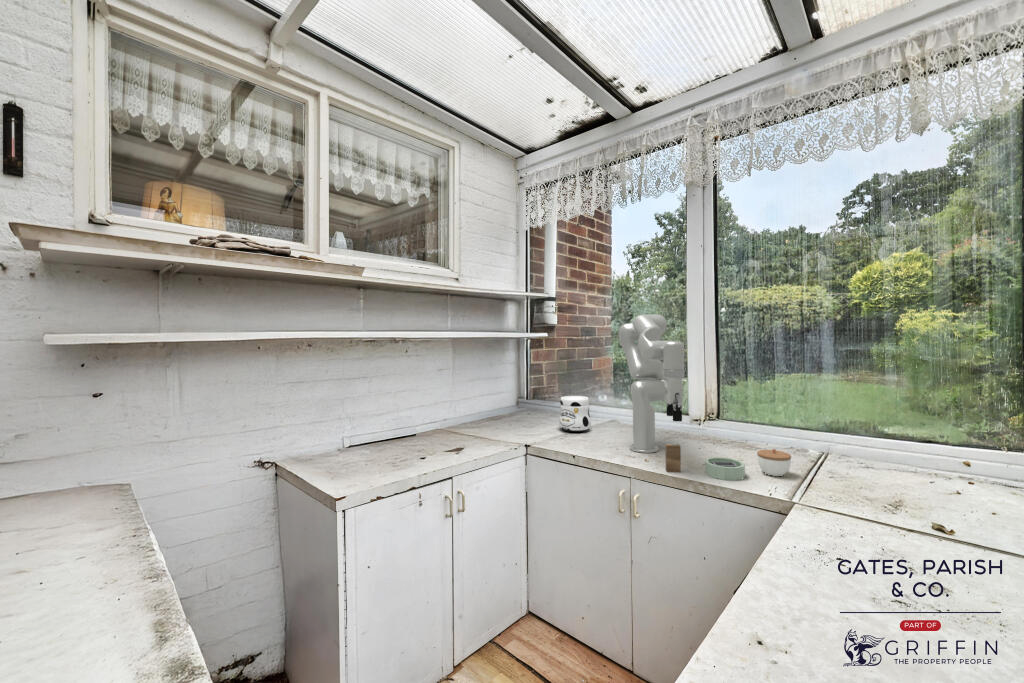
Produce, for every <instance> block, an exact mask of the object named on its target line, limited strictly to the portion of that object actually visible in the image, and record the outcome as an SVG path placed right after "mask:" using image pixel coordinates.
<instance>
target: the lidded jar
mask: <svg viewBox="0 0 1024 683" xmlns="http://www.w3.org/2000/svg"><path fill="white" fill-rule="evenodd" d="M756 453H757V463H758V466H759V469H760V470H761V471H762V472H765V473H766V474H769V475H773V476H772V477H774V476H782V477H784V476H783V475H786V474H787V473H788V472H789V471H790V468H791V462H792V455H791V454H790V453H788V452H785V451H781V450H776V448H772V449H759V450H758V451H756ZM765 473H764V474H765ZM766 474H765V475H766ZM769 475H768V476H769Z"/></svg>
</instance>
